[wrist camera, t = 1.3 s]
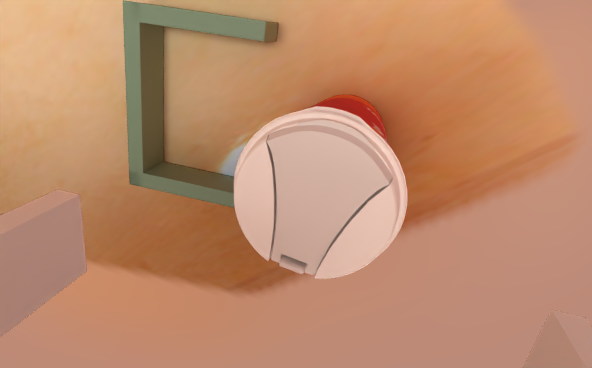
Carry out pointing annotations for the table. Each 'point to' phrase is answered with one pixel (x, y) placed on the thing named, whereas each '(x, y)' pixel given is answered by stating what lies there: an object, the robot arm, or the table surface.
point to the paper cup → (321, 189)
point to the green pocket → (149, 96)
